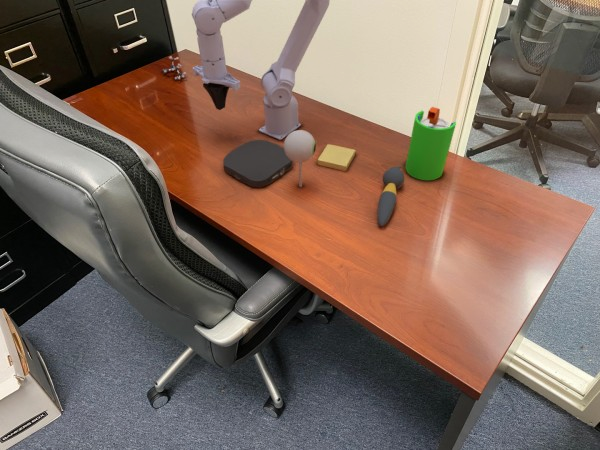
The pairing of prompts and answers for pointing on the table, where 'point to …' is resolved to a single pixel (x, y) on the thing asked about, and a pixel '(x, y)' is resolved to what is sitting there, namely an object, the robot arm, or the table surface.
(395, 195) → the grey microphone
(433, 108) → the green upright cylinder
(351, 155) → the sticky note pad
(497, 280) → the table surface
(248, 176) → the media streaming box
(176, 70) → the molecule model
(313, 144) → the lollipop
